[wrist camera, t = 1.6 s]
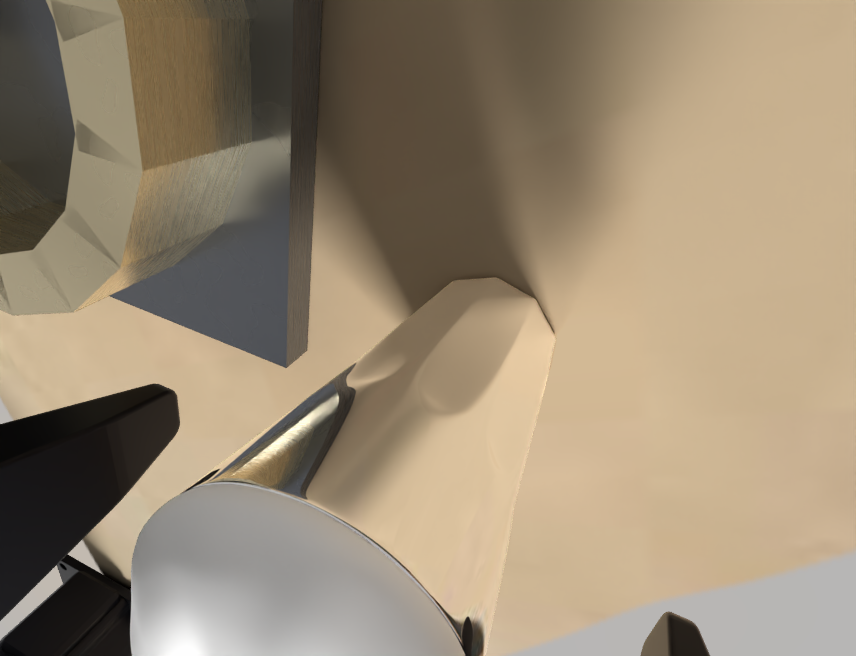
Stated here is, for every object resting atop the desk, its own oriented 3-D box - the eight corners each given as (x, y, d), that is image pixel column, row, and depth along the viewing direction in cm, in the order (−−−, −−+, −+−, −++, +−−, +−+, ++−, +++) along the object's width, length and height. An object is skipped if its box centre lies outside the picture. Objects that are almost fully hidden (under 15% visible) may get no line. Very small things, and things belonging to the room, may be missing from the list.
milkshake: (397, 411, 16) (79, 834, 7) (405, 229, 13) (-82, 583, 5) (558, 463, 14) (383, 1052, 6) (606, 271, 11) (403, 872, 3)
